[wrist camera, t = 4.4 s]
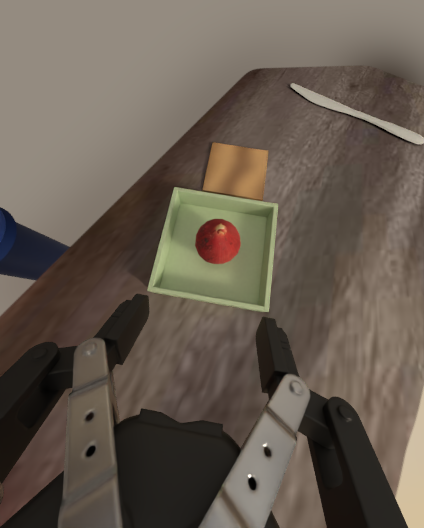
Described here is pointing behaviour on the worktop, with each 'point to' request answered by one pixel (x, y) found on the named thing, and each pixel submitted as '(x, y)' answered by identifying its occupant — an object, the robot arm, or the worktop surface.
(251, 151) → the cork mat
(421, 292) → the worktop surface
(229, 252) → the red rounded piece
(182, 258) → the tray
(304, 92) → the butter knife
